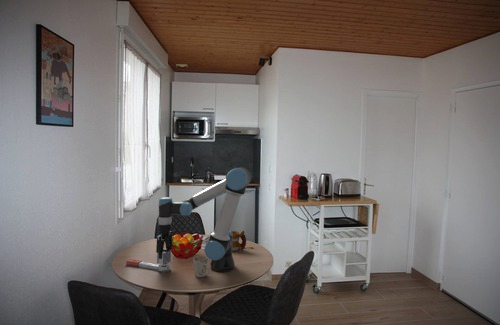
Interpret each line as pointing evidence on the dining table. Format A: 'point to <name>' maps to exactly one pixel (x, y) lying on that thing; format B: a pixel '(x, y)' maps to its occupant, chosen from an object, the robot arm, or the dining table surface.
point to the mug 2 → (235, 241)
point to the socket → (165, 256)
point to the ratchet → (149, 265)
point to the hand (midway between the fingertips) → (164, 261)
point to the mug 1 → (200, 266)
